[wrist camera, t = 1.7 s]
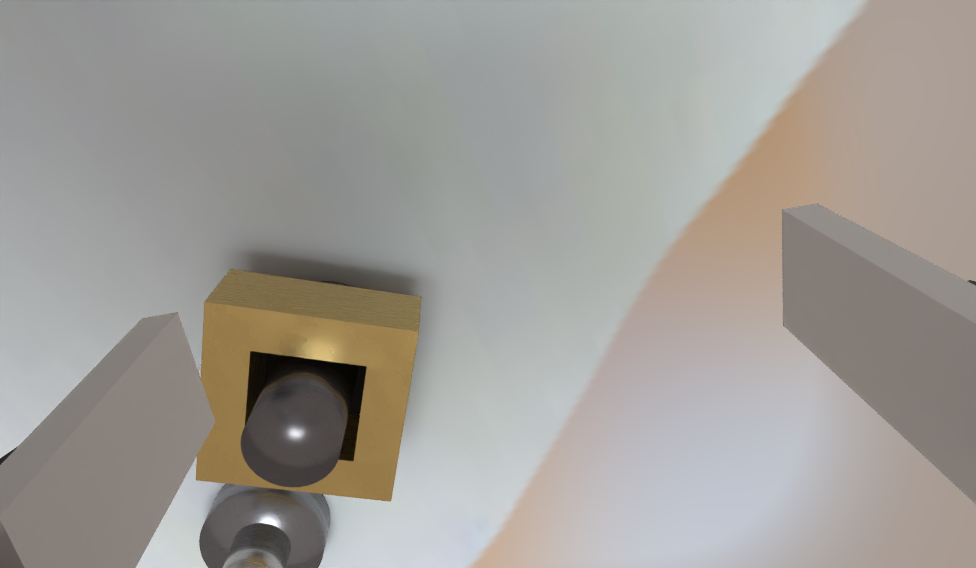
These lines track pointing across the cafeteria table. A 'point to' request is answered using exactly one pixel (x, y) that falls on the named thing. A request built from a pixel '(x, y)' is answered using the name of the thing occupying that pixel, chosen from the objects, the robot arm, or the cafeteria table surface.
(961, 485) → the robot arm
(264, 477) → the dark grey round-headed cylinder
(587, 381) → the cafeteria table surface
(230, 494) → the cylinder
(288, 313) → the gold square ring
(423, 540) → the cafeteria table surface
